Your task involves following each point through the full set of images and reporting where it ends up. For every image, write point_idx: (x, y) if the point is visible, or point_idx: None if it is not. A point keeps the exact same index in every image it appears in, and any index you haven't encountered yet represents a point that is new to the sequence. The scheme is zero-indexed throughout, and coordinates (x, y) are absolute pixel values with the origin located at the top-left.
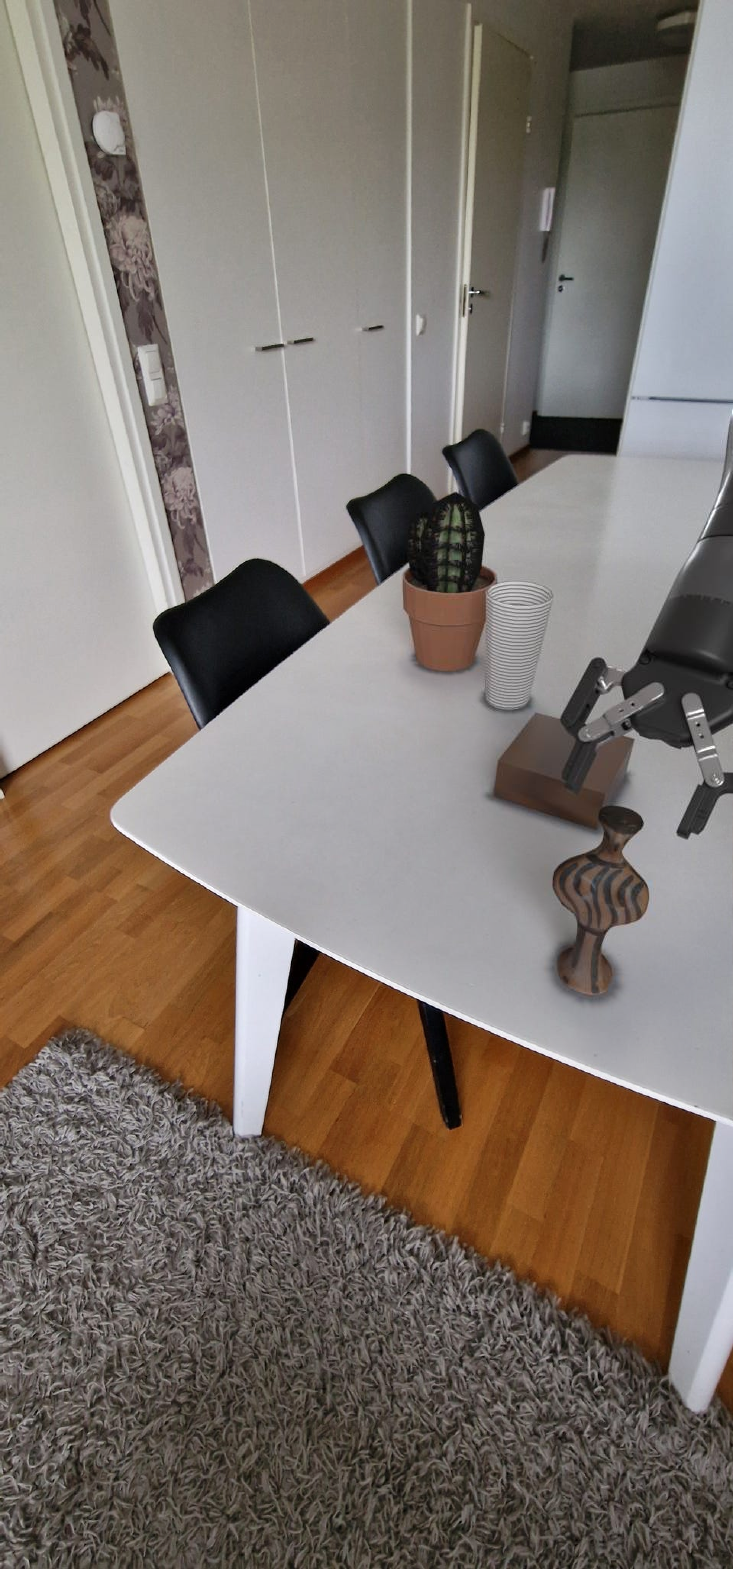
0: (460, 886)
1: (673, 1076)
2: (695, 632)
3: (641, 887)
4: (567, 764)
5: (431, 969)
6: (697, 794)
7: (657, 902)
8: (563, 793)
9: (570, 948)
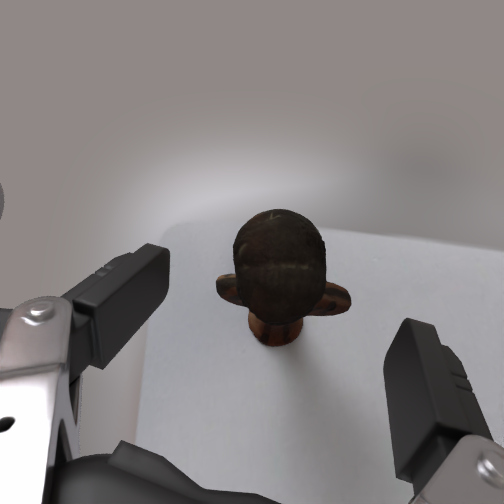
0: None
1: (192, 233)
2: None
3: (227, 274)
4: (463, 380)
5: (419, 262)
6: (106, 289)
7: (205, 458)
8: None
9: (293, 333)
